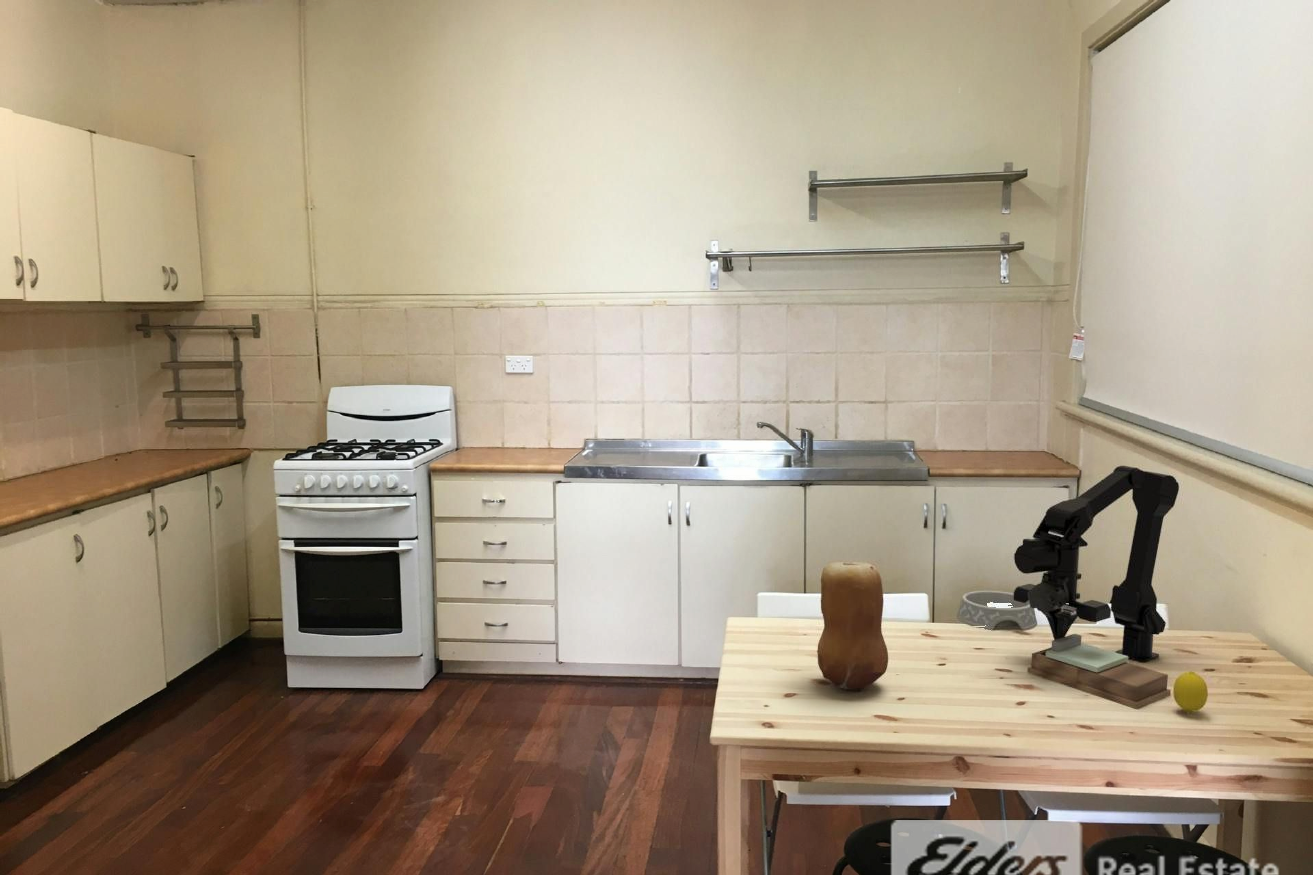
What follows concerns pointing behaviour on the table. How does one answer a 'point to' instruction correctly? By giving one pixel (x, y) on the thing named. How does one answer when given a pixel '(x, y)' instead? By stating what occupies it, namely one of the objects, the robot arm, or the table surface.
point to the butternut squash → (852, 625)
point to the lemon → (1190, 691)
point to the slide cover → (1084, 654)
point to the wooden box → (1105, 680)
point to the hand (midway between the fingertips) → (1058, 642)
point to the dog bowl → (995, 611)
